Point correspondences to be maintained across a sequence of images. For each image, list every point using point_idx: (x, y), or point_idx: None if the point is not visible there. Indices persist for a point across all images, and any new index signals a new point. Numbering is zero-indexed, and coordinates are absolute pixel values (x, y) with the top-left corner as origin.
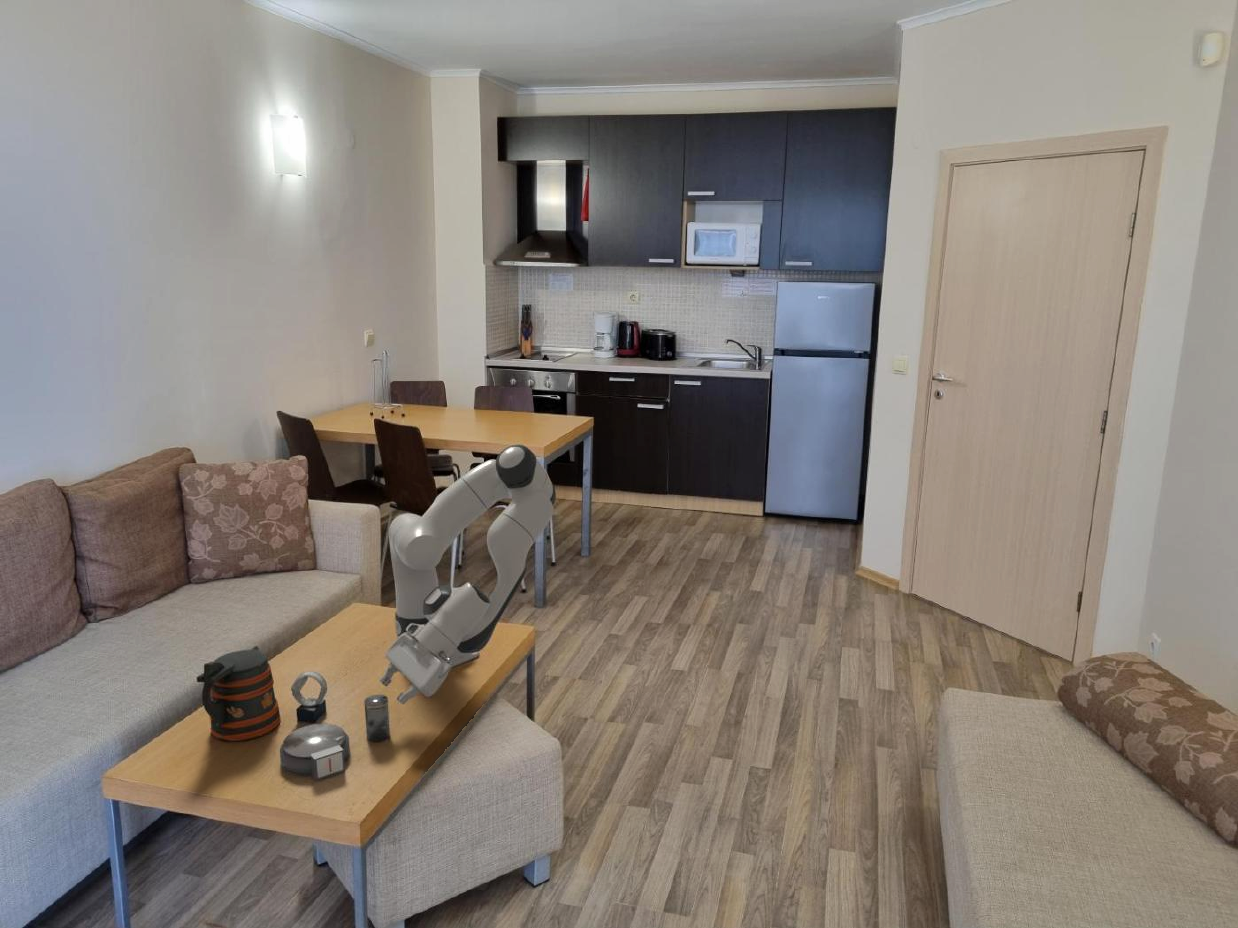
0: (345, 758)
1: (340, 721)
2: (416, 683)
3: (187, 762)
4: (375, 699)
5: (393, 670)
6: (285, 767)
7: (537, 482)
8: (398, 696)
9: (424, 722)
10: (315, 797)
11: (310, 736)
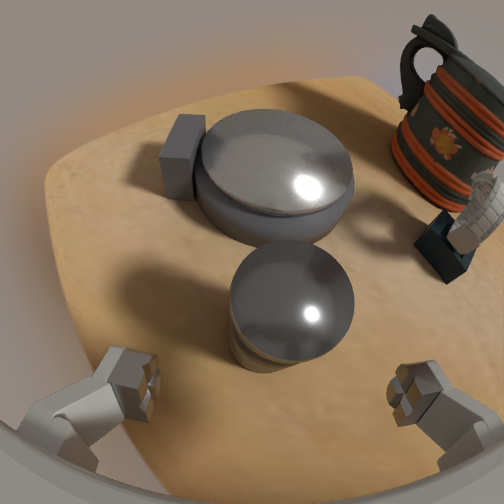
0: (206, 213)
1: (399, 291)
2: None
3: (361, 101)
4: (302, 295)
5: (453, 449)
6: None
7: None
8: (143, 361)
9: (246, 484)
10: (141, 141)
11: (296, 148)
